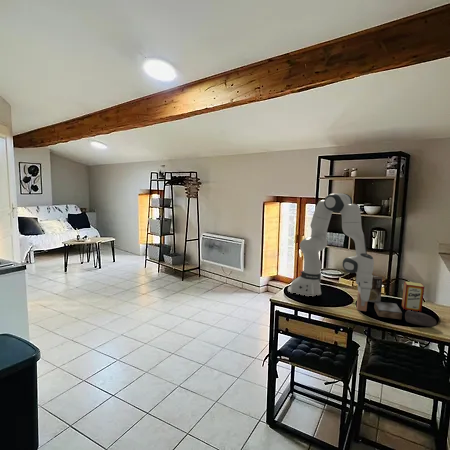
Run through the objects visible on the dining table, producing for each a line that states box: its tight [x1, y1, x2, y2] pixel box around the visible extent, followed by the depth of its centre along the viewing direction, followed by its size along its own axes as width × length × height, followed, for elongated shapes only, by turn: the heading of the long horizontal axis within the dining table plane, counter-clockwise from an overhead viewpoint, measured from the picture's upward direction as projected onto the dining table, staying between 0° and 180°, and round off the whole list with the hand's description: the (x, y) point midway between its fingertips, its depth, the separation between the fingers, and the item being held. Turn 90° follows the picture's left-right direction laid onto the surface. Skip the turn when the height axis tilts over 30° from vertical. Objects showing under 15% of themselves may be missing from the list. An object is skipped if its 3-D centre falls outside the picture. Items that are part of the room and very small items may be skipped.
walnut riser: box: [373, 301, 403, 320], centre depth 190 cm, size 12×14×4 cm
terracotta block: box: [356, 290, 368, 312], centre depth 194 cm, size 5×5×10 cm
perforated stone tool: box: [404, 310, 437, 328], centre depth 176 cm, size 15×5×7 cm, turn 61°
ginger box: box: [401, 281, 425, 313], centre depth 198 cm, size 10×6×16 cm
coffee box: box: [367, 274, 384, 303], centre depth 209 cm, size 9×6×16 cm
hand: (361, 303), depth 195 cm, fingers closed on terracotta block, 5 cm apart
